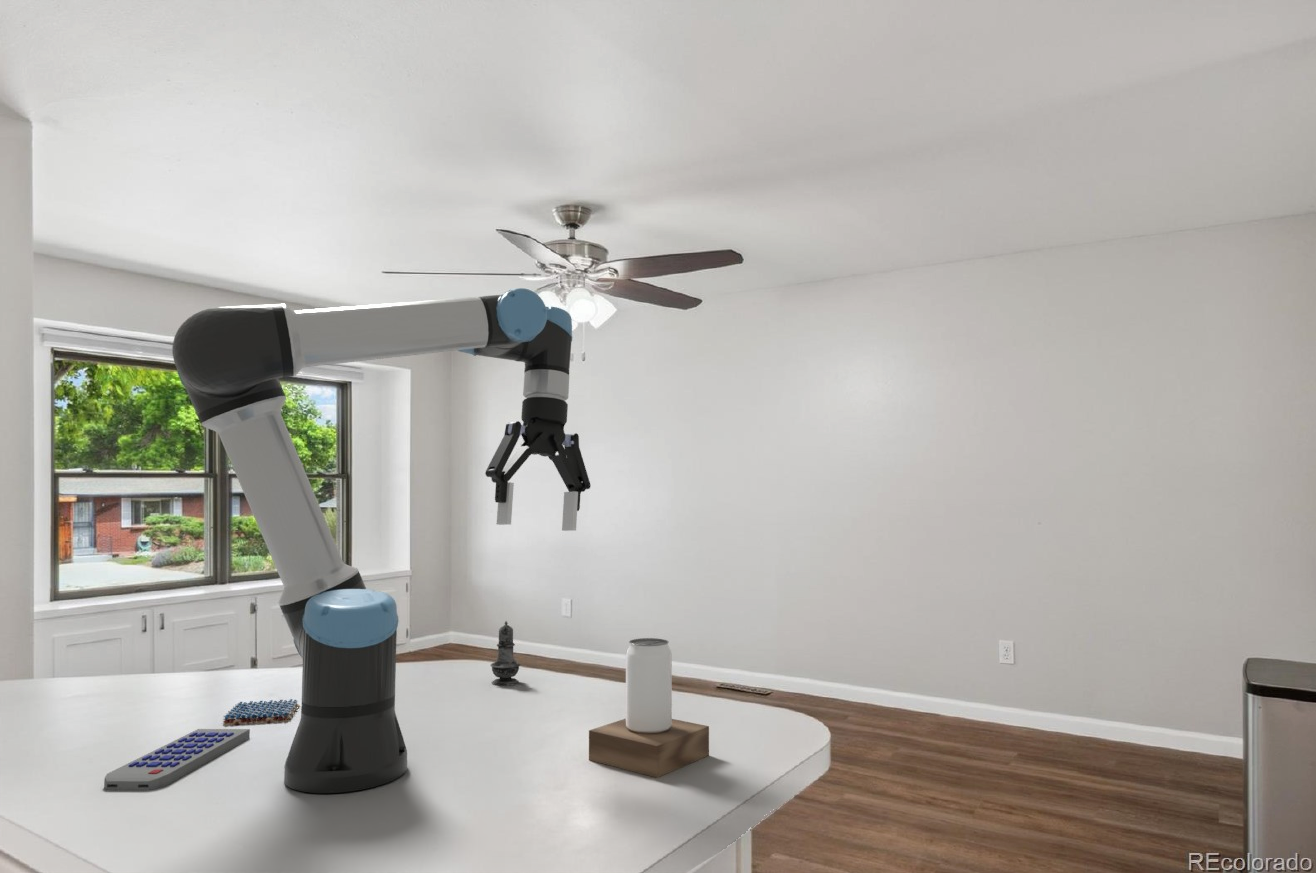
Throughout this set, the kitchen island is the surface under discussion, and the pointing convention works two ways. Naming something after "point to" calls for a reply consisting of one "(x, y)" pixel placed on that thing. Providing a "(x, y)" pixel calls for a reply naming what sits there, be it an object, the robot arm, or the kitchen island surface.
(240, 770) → the kitchen island surface
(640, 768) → the walnut stand
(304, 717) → the robot arm
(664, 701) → the can
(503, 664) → the salt shaker
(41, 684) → the kitchen island surface
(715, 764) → the kitchen island surface
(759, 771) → the kitchen island surface
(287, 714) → the woven mat
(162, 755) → the remote control
